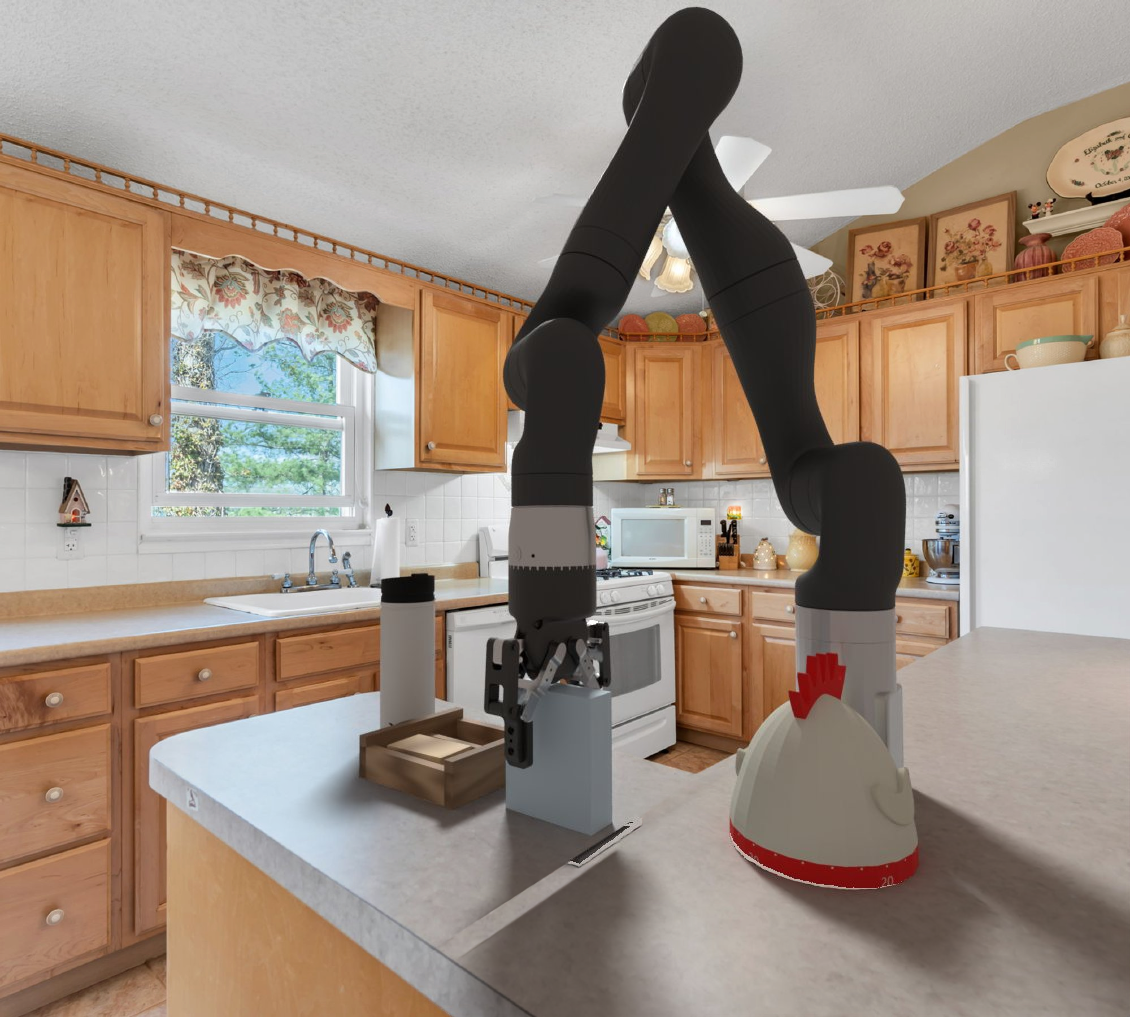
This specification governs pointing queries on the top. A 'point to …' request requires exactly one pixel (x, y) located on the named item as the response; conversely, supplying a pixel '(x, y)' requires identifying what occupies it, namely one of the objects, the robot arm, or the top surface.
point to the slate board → (567, 761)
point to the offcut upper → (429, 748)
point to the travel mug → (407, 648)
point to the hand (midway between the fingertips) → (553, 752)
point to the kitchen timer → (824, 791)
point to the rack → (430, 780)
